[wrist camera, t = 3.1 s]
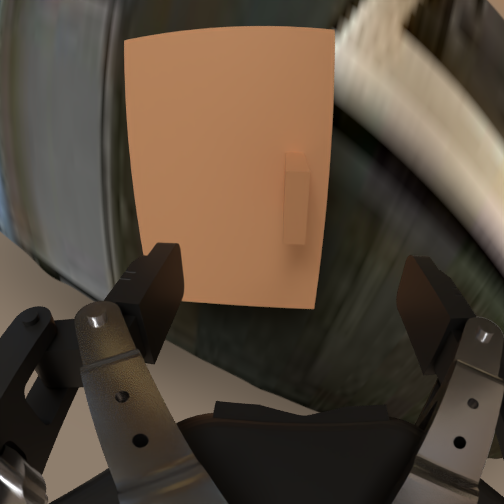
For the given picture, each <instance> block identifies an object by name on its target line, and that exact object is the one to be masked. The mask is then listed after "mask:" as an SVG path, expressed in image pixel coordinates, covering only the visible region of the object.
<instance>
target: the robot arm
mask: <svg viewBox="0 0 504 504" xmlns="http://www.w3.org/2000/svg"><path fill="white" fill-rule="evenodd" d="M183 295H184V275H183V266H182V257H181V249H180V245H179V244H178V243H162V242H158V243H156V245H155V246H154V247H153V249H152V250H151V251H150V253H149V254H148V255H143V256H141V257H139V258H138V259H136V260H135V261H133V262H132V263H131V264H130V266H129V267H128V268H127V270H126V272H124V274H123V275H122V276H121V279H119V280H118V282H117V283H116V284H115V286H114V287H113V289H112V290H111V291H110V293H109V294H108V295H107V297H106V298H105V300H104V301H97V302H93V303H90V304H88V305H86V306H84V307H83V308H81V309H80V310H79V311H78V313H77V314H76V316H75V319H68V320H56V321H54V320H53V317H52V315H51V312H50V310H49V309H47V308H45V307H39V306H38V307H32V308H29V309H26V310H25V311H23V312H21V313H20V314H19V315H18V316H17V317H16V318H15V319H14V321H13V322H12V323H11V325H10V326H9V327H8V328H7V330H6V331H5V332H4V334H3V335H2V336H1V338H0V504H47V503H48V497H47V495H46V484H45V481H44V479H43V477H42V473H43V471H44V468H45V466H46V463H47V460H48V458H49V455H50V453H51V450H52V448H53V445H54V443H55V440H56V438H57V436H58V433H59V430H60V428H61V426H62V424H63V421H64V419H65V417H66V415H67V412H68V410H69V408H70V406H71V403H72V401H73V399H74V397H75V395H76V392H77V390H78V388H79V387H84V390H85V394H86V398H87V402H88V405H89V409H90V412H91V416H92V419H93V422H94V426H95V429H96V432H97V435H98V438H99V441H100V444H101V447H102V450H103V453H104V456H105V458H106V461H107V464H108V467H109V468H108V469H106V470H105V471H103V472H102V473H100V474H98V475H97V476H95V477H93V478H92V479H90V480H89V481H87V482H85V483H84V484H82V485H80V486H79V487H77V488H75V489H73V490H72V491H70V492H68V493H67V494H65V495H63V496H61V497H60V498H58V499H56V500H54V501H52V502H51V503H49V504H504V497H503V496H501V495H500V494H499V493H498V492H497V491H495V490H494V489H493V488H492V487H490V486H489V485H488V484H487V483H485V482H484V481H483V480H482V479H481V478H480V477H481V474H482V471H483V469H484V465H485V463H486V459H487V456H488V453H489V450H490V446H491V443H492V439H493V436H494V432H495V431H496V435H497V438H498V441H499V445H500V448H501V452H502V455H503V459H504V336H503V333H502V331H501V329H500V328H499V327H498V326H497V325H496V324H495V323H493V322H492V321H490V320H488V319H486V318H482V317H476V315H475V314H474V312H473V311H472V309H471V307H470V306H469V304H468V303H467V301H466V300H465V298H464V297H463V296H461V295H462V294H461V292H460V291H459V290H458V289H457V287H456V285H455V284H454V282H453V281H452V279H451V278H450V277H448V276H447V275H446V274H445V273H443V272H442V271H441V270H439V269H438V268H437V266H436V265H435V264H434V262H433V261H432V259H431V258H430V257H429V256H415V255H410V256H408V258H407V260H406V263H405V267H404V271H403V274H402V278H401V281H400V285H399V289H398V292H397V308H398V311H399V313H400V316H401V318H402V321H403V323H404V325H405V328H406V330H407V333H408V335H409V338H410V341H411V343H412V346H413V348H414V351H415V354H416V356H417V359H418V362H419V364H420V367H421V370H422V373H423V375H434V374H437V377H438V379H437V380H436V382H435V384H434V386H433V388H432V390H431V392H430V394H429V397H428V399H427V401H426V403H425V405H424V407H423V409H422V411H421V413H420V415H419V417H418V419H417V421H416V423H415V425H413V424H411V423H409V422H406V421H404V420H401V419H397V418H393V417H388V412H387V407H386V405H371V406H347V407H343V408H339V409H335V410H330V411H326V412H321V413H317V414H312V415H307V416H301V415H296V414H292V413H288V412H284V411H280V410H276V409H273V408H269V407H265V406H261V405H255V404H242V403H231V402H220V401H216V403H215V408H214V413H208V414H202V415H197V416H194V417H190V418H187V419H185V420H182V421H180V422H178V423H175V421H174V419H173V417H172V416H171V414H170V412H169V410H168V408H167V406H166V404H165V402H164V400H163V398H162V397H161V395H160V392H159V391H158V388H157V386H156V385H155V383H154V380H153V378H152V376H151V375H150V372H149V370H148V368H147V366H146V364H145V363H149V364H155V362H156V360H157V357H158V355H159V353H160V350H161V348H162V345H163V343H164V341H165V338H166V336H167V333H168V331H169V329H170V326H171V324H172V322H173V319H174V317H175V315H176V312H177V310H178V308H179V305H180V303H181V301H182V298H183ZM34 369H35V371H36V372H37V374H38V377H37V379H36V381H35V383H34V384H33V386H32V388H31V390H30V391H29V393H28V395H27V397H26V399H25V395H24V389H25V385H26V383H27V381H28V380H29V378H30V376H31V375H32V373H33V371H34Z"/></svg>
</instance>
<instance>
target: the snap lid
mask: <svg viewBox="0 0 504 504" xmlns="http://www.w3.org/2000/svg"><path fill="white" fill-rule="evenodd" d="M124 59H125V93H126V112H127V126H128V139H129V150H130V160H131V170H132V179H133V187H134V195H135V203H136V210H137V217H138V223H139V230H140V236H141V242H142V248H143V254H144V255H148V254H149V253H150V251H151V250H152V249H153V247H154V246H155V245H156V243H158V242H162V243H178V244H179V245H180V249H181V257H182V266H183V275H184V295H183V298H182V301H188V302H201V303H214V304H228V305H243V306H259V307H278V308H300V309H314V306H315V299H316V292H317V284H318V277H319V269H320V261H321V252H322V244H323V235H324V225H325V215H326V205H327V194H328V182H329V169H330V155H331V140H332V121H333V98H334V61H335V30H330V29H319V28H305V27H283V26H243V27H221V28H207V29H196V30H186V31H178V32H170V33H163V34H157V35H151V36H145V37H140V38H134V39H129V40H124Z"/></svg>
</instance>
